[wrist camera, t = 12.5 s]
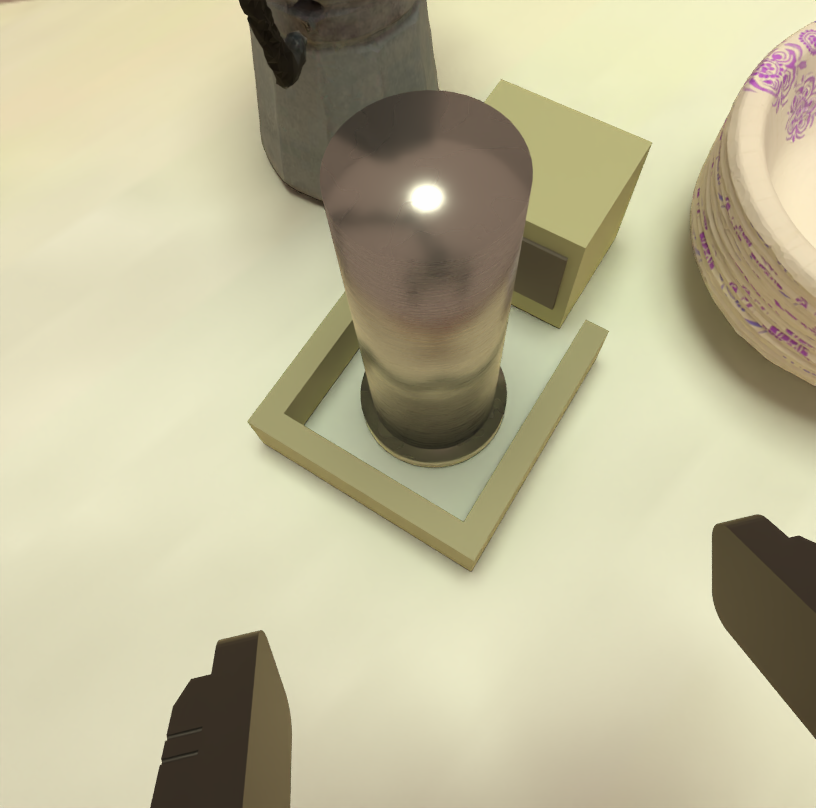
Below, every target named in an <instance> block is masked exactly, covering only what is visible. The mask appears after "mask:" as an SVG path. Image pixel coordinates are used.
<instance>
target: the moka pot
mask: <svg viewBox="0 0 816 808" xmlns="http://www.w3.org/2000/svg"><path fill="white" fill-rule="evenodd" d="M239 2H240V6H241V8H242V10H243V12H244V14H246V15H248V18H247V20H248V22H249V26H250V34H251V43H252V53H253V62H254V70H255V79H256V89H257V100H258V109H259V119H260V132H261V139H262V144H263V147H264V150H265V152H266V154H267V156H268V158H269V160H270V162H271V164H272V166H273V167H274V169H275V170H276V172H277V173H278V175H279V176H280V177H281V179H282V180H283V181H284V182H285V183H287V184H288V185H289V186H291V187H292V188H294V189H295V190H297V191H299V192H300V193H304V194H307V195H309V196H311V197H313V198H315V199H318V200H321V201H323V199H322V195H321V189H320V168H321V162H322V159H323V156H324V153H325V150H326V148H327V146H328V144H329V142H330V141H331V139H332V137H333V136H334V135H335V133H336V132H337V131H338V129H339V128H340V127H341V126H342V125H343V124H344V123H345V122H346V121H347V120H348V119H349V118H351V117H352V116H353V115H354V114H356V113H357V112H359V111H360V110H362V109H363V108H365V107H366V106H368V105H370V104H372V103H374V102H376V101H379V100H381V99H384V98H387V97H389V96H393V95H397V94H401V93H406V92H412V91H424V90H435V91H439V89H438V81H437V72H436V66H435V60H434V54H433V46H432V37H431V29H430V24H429V19H428V10H427V2H426V0H239Z"/></svg>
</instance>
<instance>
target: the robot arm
mask: <svg viewBox="0 0 816 808" xmlns="http://www.w3.org/2000/svg"><path fill="white" fill-rule="evenodd" d="M712 596H713V601H714V605H715V609H716V611H717V614H718V616H719V618H720V620H721V622H722V624H723V626H724V627H725V629H726V630H727V631H728V632H729V634H730V635H731V636H732V637H733V639H734V640H735V641H736V642H737V643H738V645H739V646H740V647H741V648H742V650H743V651H744V652H745V653H746V654H747V656H748V657H749V658H750V659H751V661H752V662H753V663H754V664H755V665H756V667H757V668H758V669H759V670H760V672H761V673H762V674H763V675H764V676H765V678H766V679H767V680H768V681H769V683H770V684H771V685H772V686H773V687H774V689H775V690H776V691H777V692H778V694H779V695H780V696H781V697H782V698H783V700H784V701H785V702H786V703H787V705H788V706H789V707H790V708H791V709H792V711H793V712H794V713H795V714H796V716H797V717H798V718H799V719H800V720H801V722H802V723H803V724H804V725H805V727H806V728H807V729H808V730H809V731H810V733H811V734H812V735H813V736H814V738H815V739H816V543H814V542H812V541H810V540H808V539H805V538H803V537H801V536H795V537H791V538H789V537H787V536H786V535H785V534H784V533H783V532H782V531H781V530H779V529H778V528H777V527H776V526H775V525H774V524H773V523H771V522H770V521H769V520H768V519H767V518H765V517H764V516H762V515H752V516H748V517H744V518H740V519H736V520H731V521H727V522H723V523H719V524H716V525H715V526H714V528H713V532H712ZM291 749H292V726H291V716H290V710H289V705H288V700H287V696H286V693H285V690H284V687H283V684H282V681H281V678H280V675H279V672H278V669H277V666H276V663H275V660H274V657H273V654H272V651H271V649H270V646H269V643H268V640H267V637H266V635H265V633H264V632H263V631H262V630H260V631H255V632H251V633H247V634H243V635H239V636H234V637H230V638H226V639H222V640H219V641H218V642H217V645H216V650H215V655H214V661H213V667H212V673H211V674H210V675H206V676H202V677H198V678H194V679H191V680H190V682H189V683H188V685H187V686H186V688H185V689H184V691H183V692H182V694H181V695H180V697H179V698H178V700H177V701H176V703H175V704H174V706H173V709H172V714H171V718H170V723H169V727H168V731H167V741H165V745H164V749H163V754H162V758H161V760H162V765H160V767H159V771H158V776H157V780H156V785H155V789H154V794H153V798H152V802H151V807H150V808H290V793H291Z"/></svg>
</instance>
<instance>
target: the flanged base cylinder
mask: <svg viewBox="0 0 816 808" xmlns="http://www.w3.org/2000/svg"><path fill="white" fill-rule="evenodd" d="M532 182H533V166H532V159H531V155H530V152H529V149H528V146H527V144H526V142H525V140H524V138H523V137H522V135H521V134H520V132H519V131H518V129H517V128H516V127H515V126H514V125H513V123H512V122H511V121H510V120H509V119H508V118H506V117H505V116H504V115H503V114H502V113H501V112H499V111H497V110H496V109H494V108H493V107H491V106H490V105H488V104H486V103H484V102H482V101H480V100H477V99H475V98H472V97H469V96H466V95H462V94H458V93H454V92H447V91H435V90H424V91H412V92H406V93H401V94H397V95H393V96H389V97H387V98H384V99H381V100H379V101H376V102H374V103H372V104H370V105H368V106H366V107H365V108H363V109H362V110H360V111H359V112H357V113H356V114H354V115H353V116H352V117H351V118H349V119H348V120H347V121H346V122H345V123H344V124H343V125H342V126H341V127H340V128H339V129H338V131H337V132H336V133H335V135H334V136H333V137H332V139H331V141H330V142H329V144H328V146H327V148H326V150H325V153H324V156H323V159H322V162H321V168H320V189H321V195H322V199H323V203H324V207H325V211H326V215H327V219H328V223H329V227H330V231H331V235H332V239H333V243H334V247H335V251H336V255H337V259H338V263H339V267H340V271H341V275H342V279H343V283H344V287H345V291H346V295H347V299H348V303H349V307H350V311H351V315H352V319H353V323H354V327H355V331H356V335H357V339H358V343H359V347H360V351H361V355H362V359H363V363H364V367H365V373H364V377H363V380H362V385H361V404H362V410H363V413H364V417H365V420H366V423H367V426H368V428H369V430H370V432H371V434H372V435H373V437H374V438H375V440H376V441H377V442H378V443H379V444H380V446H382V447H383V448H384V449H385V450H386V451H387V452H388V453H390V454H391V455H393V456H394V457H396V458H398V459H400V460H402V461H404V462H407V463H409V464H412V465H417V466H421V467H431V468H433V467H445V466H451V465H454V464H458V463H461V462H463V461H465V460H468V459H470V458H471V457H473V456H474V455H476V454H478V453H479V452H480V451H481V450H482V449H484V448H485V447H486V446H487V445H488V444H489V442H490V441H491V440H492V439H493V437H494V436H495V434H496V433H497V431H498V429H499V427H500V425H501V422H502V419H503V415H504V411H505V406H506V398H507V390H506V382H505V378H504V374H503V372H502V369H501V367H500V363H501V358H502V352H503V346H504V341H505V335H506V329H507V324H508V318H509V312H510V307H511V301H512V295H513V290H514V284H515V278H516V273H517V267H518V261H519V256H520V250H521V244H522V239H523V233H524V227H525V222H526V216H527V210H528V205H529V199H530V193H531V188H532Z"/></svg>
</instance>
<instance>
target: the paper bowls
mask: <svg viewBox="0 0 816 808" xmlns="http://www.w3.org/2000/svg"><path fill="white" fill-rule="evenodd" d="M690 232H691V239H692V245H693V251H694V256H695V259H696V263H697V265H698V267H699V269H700V272H701V276H702V279H703V281H704V283H705V285H706V287H707V289H708V291H709V293H710V295H711V297H712V299H713V300H714V302H715V304H716V305H717V306H718V308H719V309H720V310H721V311H722V313H723V314H724V316H725V318H726V319H727V321H728V322H729V323H730V324H731V326H732V327H733V328H734V330H735V331H736V333H737V334H739V335H740V336H741V337H742V338H744V339H745V340H746V341H747V342H748V343H749V344H751V345H752V346H753V347H754V348H755V349H757V351H758V352H759V353H761V354H762V356H764V357H765V358H766V359H768V360H769V361H770V362H772V363H774V364H775V365H777V366H779V367H781V368H783V369H784V370H786V371H788V372H791V373H792V374H794V375H796V376H798V377H799V378H801V379H803V380H805V381H807V382H808V383H810V384H812V385H814V386H816V21H815V22H813V23H811V24H809V25H807V26H805V27H804V28H802V29H800V30H799V31H797V32H796V33H794V34H792V35H791V36H789V37H788V38H787V39H785V40H784V41H783V42H782V43H780V44H779V45H777V46H776V47H775V48H774V49H773V50H772V51H771V52H769V53H768V55H767V56H766V57H765V58H764V59H763V60H762V61H761V62H760V63H759V64H758V66H757V67H756V68H755V69H754V70H753V72H752V74H751V75H750V76H749V77H748V79H747V81H746V82H745V84H744V86H743V87H742V88H741V90H740V92H739V94H738V96H737V97H736V99H735V101H734V103H733V105H732V108H731V111H730V113H729V115H728V116H727V118H726V120H725V123H724V124H723V126H722V128H721V130H720V132H719V134H718V136H717V138H716V140H715V142H714V144H713V146H712V148H711V150H710V152H709V155H708V157H707V159H706V161H705V163H704V165H703V167H702V169H701V172H700V175H699V177H698V180H697V182H696V186H695V189H694V193H693V200H692V205H691V211H690Z"/></svg>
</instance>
